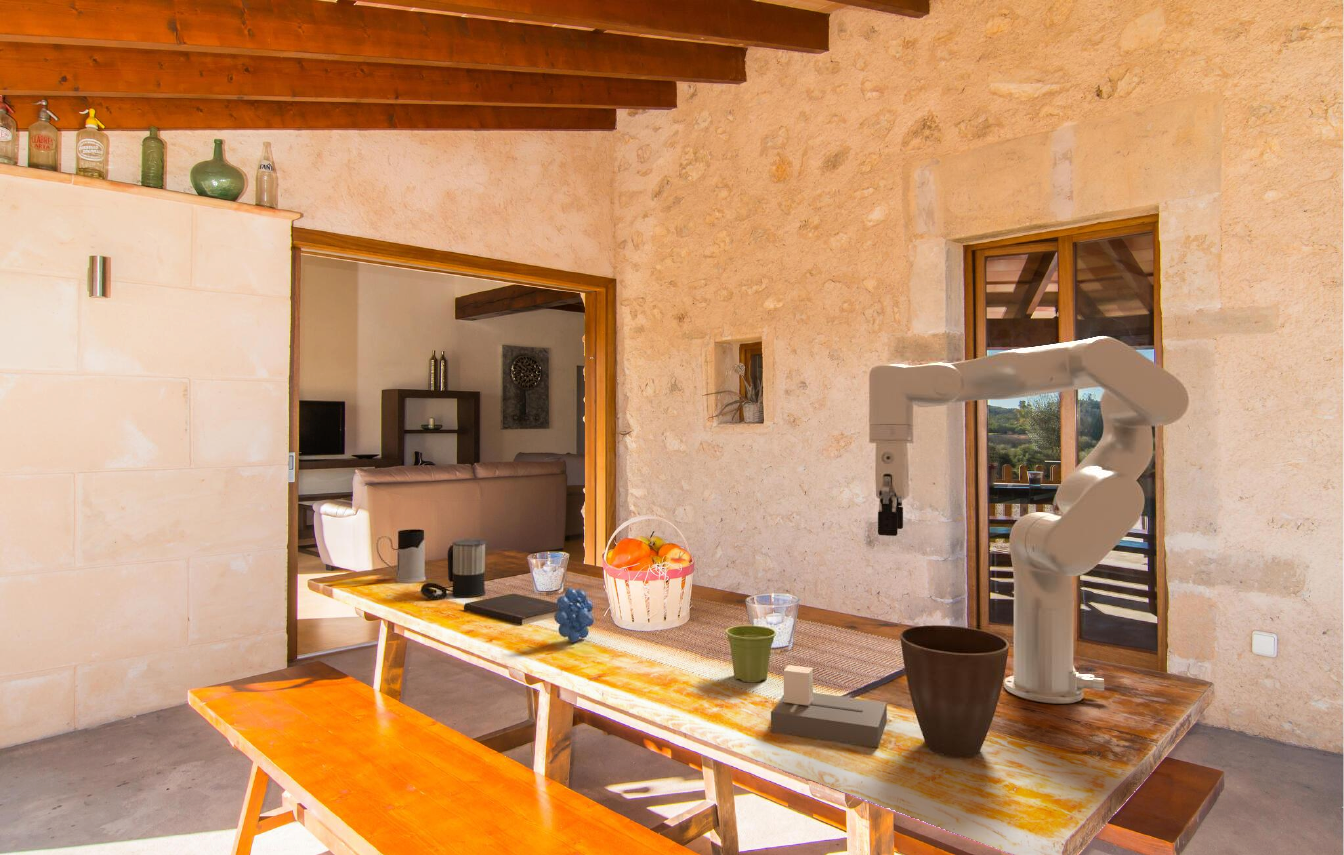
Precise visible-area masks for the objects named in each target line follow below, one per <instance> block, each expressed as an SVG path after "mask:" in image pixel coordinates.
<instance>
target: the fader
mask: <svg viewBox="0 0 1344 855" xmlns="http://www.w3.org/2000/svg"><path fill="white" fill-rule="evenodd" d="M813 690H814V668H813V667H807V666H801V665H800V666H799V665H790V664H788V665H787V666H786V667H785V668H784V670H783V695H784V702H786V703H793V704H800V705H808V706H809V705H810V703H811V702H812V700H813V693H814V691H813Z"/></svg>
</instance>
